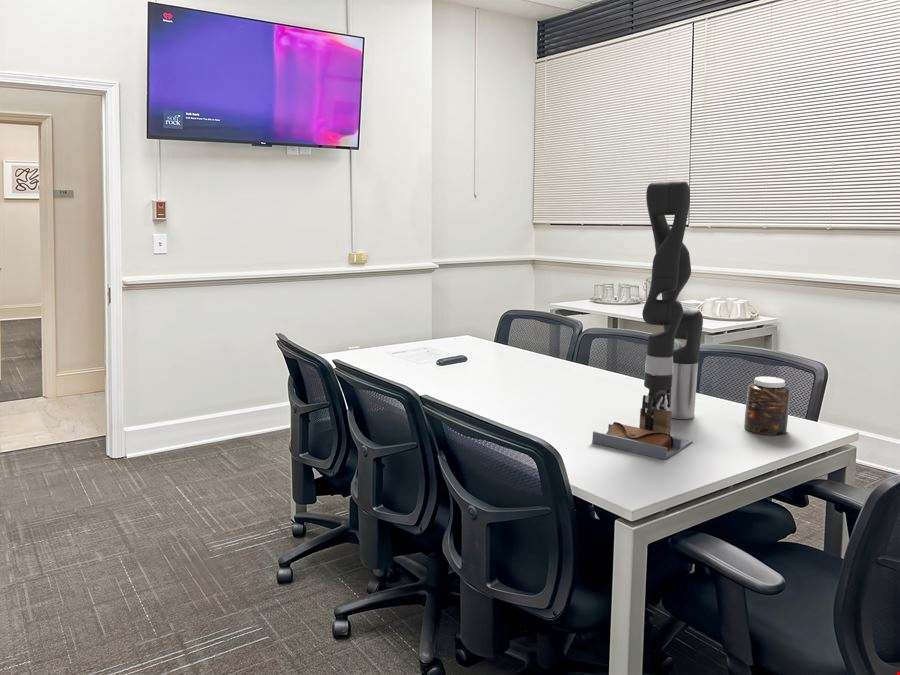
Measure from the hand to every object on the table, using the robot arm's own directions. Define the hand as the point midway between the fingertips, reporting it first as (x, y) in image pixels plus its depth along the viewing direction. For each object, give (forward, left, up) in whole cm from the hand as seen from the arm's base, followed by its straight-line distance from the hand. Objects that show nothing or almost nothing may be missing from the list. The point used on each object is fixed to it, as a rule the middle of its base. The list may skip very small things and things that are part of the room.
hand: (655, 427), depth 209 cm
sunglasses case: (+12, 0, -2) cm, 12 cm away
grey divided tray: (+7, 0, -3) cm, 8 cm away
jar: (-27, +22, -3) cm, 35 cm away
